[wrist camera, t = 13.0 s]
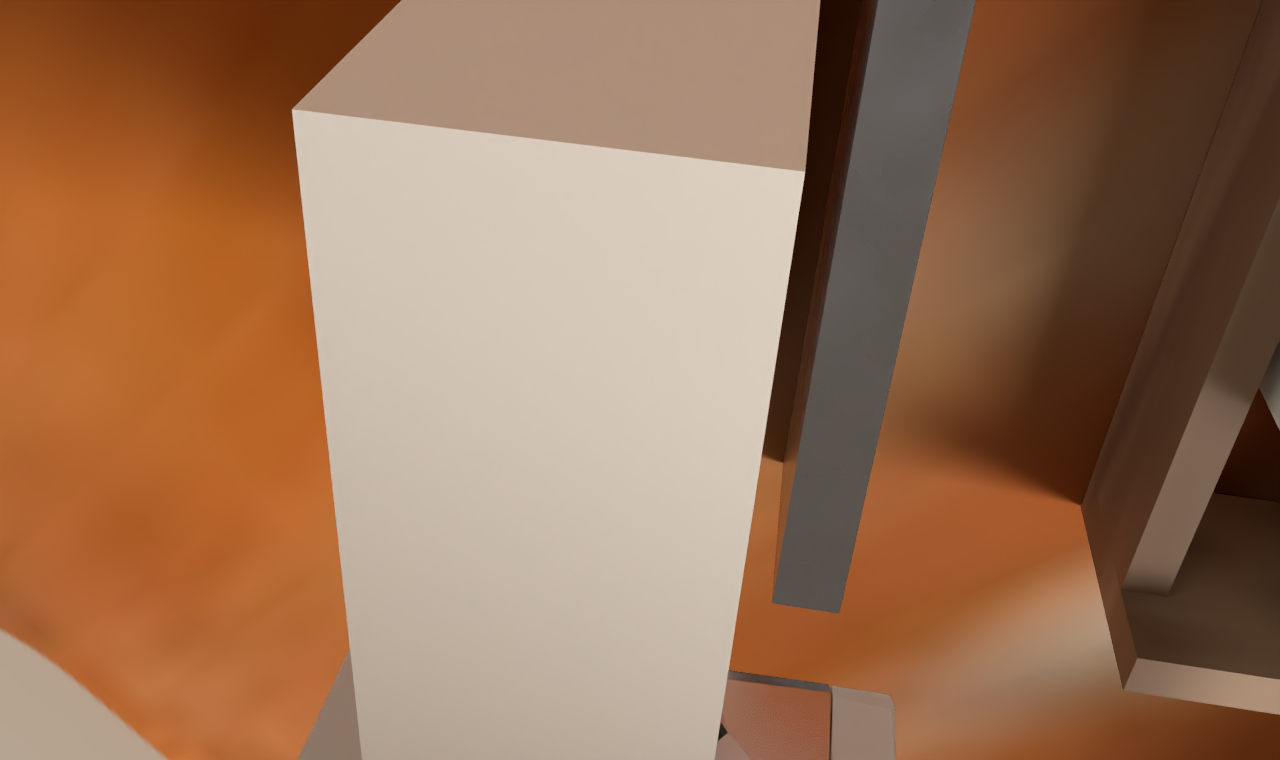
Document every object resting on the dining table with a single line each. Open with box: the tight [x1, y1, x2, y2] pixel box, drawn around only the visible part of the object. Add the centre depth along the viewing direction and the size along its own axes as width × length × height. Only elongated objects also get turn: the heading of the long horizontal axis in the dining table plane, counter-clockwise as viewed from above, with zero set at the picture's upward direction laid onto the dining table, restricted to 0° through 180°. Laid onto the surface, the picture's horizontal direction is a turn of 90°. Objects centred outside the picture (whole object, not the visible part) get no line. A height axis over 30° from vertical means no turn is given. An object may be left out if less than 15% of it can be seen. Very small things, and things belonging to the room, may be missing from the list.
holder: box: [772, 0, 976, 613], centre depth 23 cm, size 7×22×5 cm, turn 176°
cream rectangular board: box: [292, 0, 820, 760], centre depth 16 cm, size 2×14×20 cm, turn 176°
